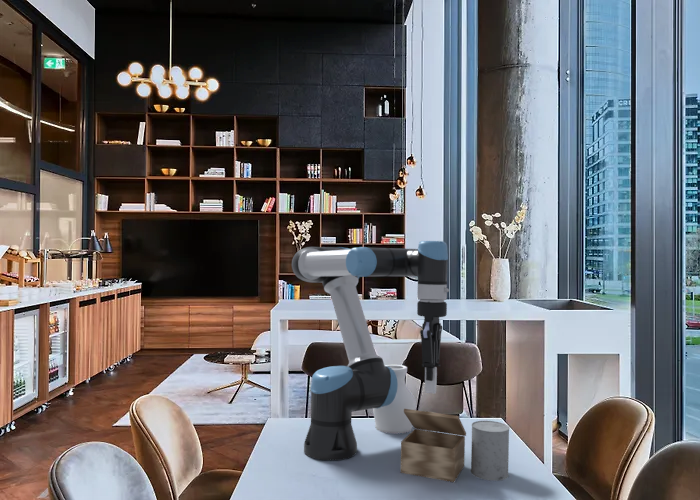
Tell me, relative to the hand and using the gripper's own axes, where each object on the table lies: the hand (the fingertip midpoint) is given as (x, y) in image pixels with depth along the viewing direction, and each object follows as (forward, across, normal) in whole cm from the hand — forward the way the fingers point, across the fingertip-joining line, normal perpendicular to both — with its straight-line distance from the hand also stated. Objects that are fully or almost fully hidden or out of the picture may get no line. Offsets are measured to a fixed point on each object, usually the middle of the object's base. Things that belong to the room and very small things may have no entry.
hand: (430, 392), depth 143 cm
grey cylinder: (+21, +8, -14) cm, 27 cm away
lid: (+10, +5, 0) cm, 11 cm away
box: (+21, +4, 0) cm, 21 cm away
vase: (+21, +33, +21) cm, 45 cm away
